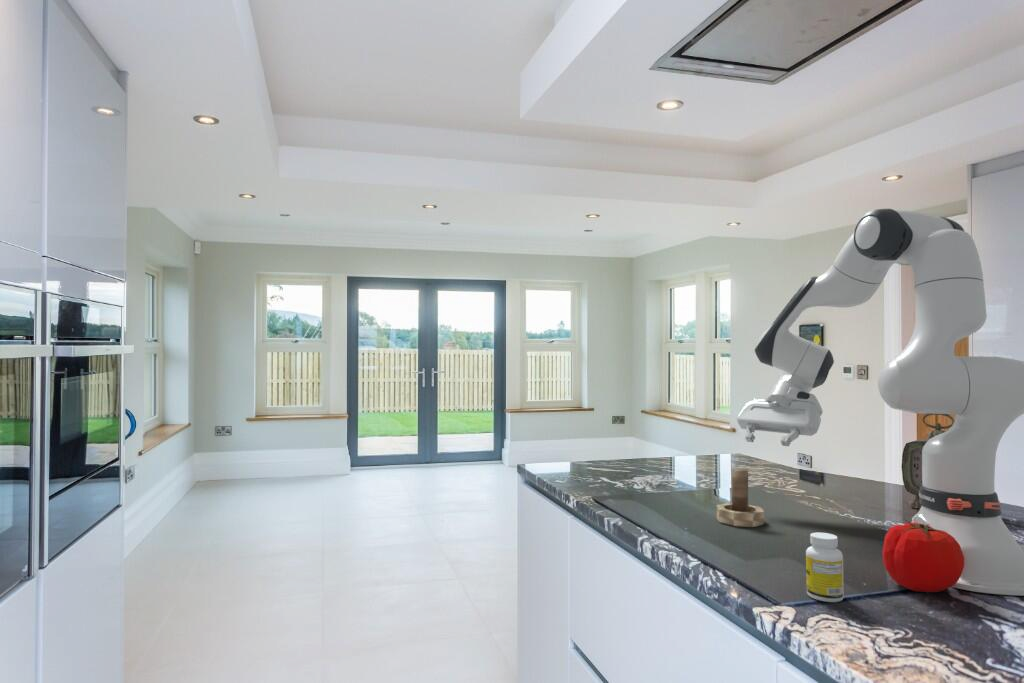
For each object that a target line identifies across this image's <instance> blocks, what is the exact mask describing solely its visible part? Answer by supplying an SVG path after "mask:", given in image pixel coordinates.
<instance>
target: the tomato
mask: <svg viewBox="0 0 1024 683" xmlns="http://www.w3.org/2000/svg"><path fill="white" fill-rule="evenodd" d="M902 519H903V520H904V521H906V522H907V523H904V524H898V525H896V524H895V525H893V526H891V527H890V528H889V530H888V531H887V533H885V536H884V542H883V546H882V554H881V555H882V564H883V566H884V567H885V570H886V572H887V573H888V574H889V575H888V576H890V578H891V579H892V580H893V581H894V582H895V583H896V584H897V585H900V586H901V587H903V588H905V589H909V590H910V591H913V592H919V593H920V592H922V593H939V592H942V591H945V590H947V589H949V588H953V587H952V586H953V585H954V584H956V583H957V581H958V580H959V578H960V576H961V574H962V571H963V568H964V556H963V553H962V550H961V547H960V545H959V543H958V542H957V541H956V540H955V538H954V537H953V536H951V535H950V534H948V533H947V532H944V531H942V530H936V529H934V528H932V527H930V526H928V525H929V524H928V525H924V524H919V523H915V522H914V523H912V522H910V521H909V520H907V519H906V518H903V517H902ZM948 532H949V531H948Z"/></svg>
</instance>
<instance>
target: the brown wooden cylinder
mask: <svg viewBox="0 0 1024 683" xmlns="http://www.w3.org/2000/svg"><path fill="white" fill-rule="evenodd" d="M731 503H732V511H738V512H748V505H749V470H748V469H744V468H732V469H731Z"/></svg>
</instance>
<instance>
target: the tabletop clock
mask: <svg viewBox="0 0 1024 683" xmlns="http://www.w3.org/2000/svg"><path fill="white" fill-rule="evenodd" d="M933 415H934V416H935V415H936V416H939V415H940V416H944V417H947V418H949V419H950V420H951V421H952V422H951V424H949V425H945V426H943V425H942V424H941V423H940V422H936V423H935V425H933V424H929V423H928V422H926V421H925V419H926V418H927V417H929V416H933ZM921 421H922V423H923V425H925V426H927V427H928V428H931V429H933V430H930V431H929V432H928V433H927V434H926V437H925V438H921V439H917V440H914V441H910V442H906V443H905V445H904V447H903V450H902V455H901V457H902V458H901V474H902V483H903V486H904V488H905V491H906V492H908V493H910V494H912V495H913V496H915V497H914V499H913V500H911V501H909V502H908V506H909V507H910V508H912V507H913V508H916V507H917V503H916V502H917V501H918V500H920V496H919V491H920V486H921V485H922V449H923V447H924V445H925V444H926V442H927V441H928V440H929V439H931V438H932V437H934V436H937V435H939V434H941V433H944V432H946V431H947V430H946V429H950V428H951V426H952V425H953V423H954V421H955V418H954V417H953V416H951V414H924V415H923V417H922V420H921Z"/></svg>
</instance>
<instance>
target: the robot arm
mask: <svg viewBox="0 0 1024 683" xmlns="http://www.w3.org/2000/svg"><path fill="white" fill-rule="evenodd" d="M894 264H898V265H900V266H907V267H911V268H912V270H913V285H914V286H913V287H914V288H913V289H914V290H913V291H914V301H915V302H914V304H915V305H914V306H915V313H914V314H915V316H914V328H913V332H912V335H911V338H910V339H909V341H908V343H907V344H906V346H905V347H904V348H903V350H901V352H900V353H899V354H898V355H896V356H895V357H894V358H892V359H890V360H889V361H888V362H887V363H886V364H885V365H884V366H883V368H882V369H881V371H880V372H879V376H878V382H877V384H878V385H877V387H878V392H879V394H880V397H881V398H882V400H883V401H884V403H886V405H888V406H889V407H890V408H891V409H893V410H898V411H903V412H908V413H913V414H921V415H926V414H948V415H954V416H955V417H954V423H953V425H952V426H951V427H950V428H948V430H945V431H946V432H944V433H941V434H939V435H937V436H934V437H932V438H931V439H930V438H928V439H929V440H928V441H927V442H926V444H925V445H924V447H923V449H922V485H921V486H920V491H919V496H920V498H919V504H920V505H921V507H920V509H919V510H918V512H917V513H916V514H914V516H913V517H912V518H911V523H914V522H915V523H919V524H924V525H928V524H929V525H928V526H930V527H932V528H934V529H936V530H942V531H944V532H947V533H948V534H950V535H951V536H953V537H954V538H955V540H956V541H957V542H958V543H959V545H960V547H961V550H962V553H963V556H964V568H963V571H962V574H961V576H960V578H959V580H958V581H957V583H956V584H954V585H953V586H952V587H951V588H955V589H958V590H959V589H960V590H965V591H970V592H976V593H982V594H993V595H1004V596H1006V595H1007V596H1024V544H1019V543H1018V542H1017V540H1016V538H1015V537H1014V534H1013V533H1012V532H1011V531H1010V529H1009V528H1008V527H1007V525H1006V524H1005V522H1004V520H1003V519H1002V517H1001V515H1002V510H1001V509H1002V507H1001V505H1002V503H1001V502H1000V500H999V497H998V493H997V492H996V491H995V471H996V459H997V451H998V447H999V444H1000V441H1001V440H1002V438H1003V436H1004V434H1005V433H1006V431H1007V429H1008V428H1009V427H1010V426H1011V425H1012V424H1013V422H1014V421H1015V420H1017V419H1018V418H1020V416H1022V415H1024V360H1018V359H1014V358H1008V357H1007V358H1006V357H1002V356H1001V357H1000V356H983V355H982V356H978V355H977V356H970V355H969V356H965V355H964V356H963V355H961V356H958V355H955V354H956V353H955V347H956V345H957V342H959V341H960V340H963V339H966V338H968V337H969V336H971V335H973V334H974V333H977V332H978V331H980V329H982V327H983V326H984V325H985V323H986V320H987V315H988V314H987V305H986V296H985V295H986V294H985V284H984V276H983V275H984V273H983V268H982V263H981V258H980V255H979V252H978V248H977V246H976V243H975V240H974V238H973V237H972V235H970V234H969V233H968V232H966V231H965V229H964V228H963V226H962V225H961V224H960V223H958V222H957V221H955V220H952V219H950V218H947V217H944V216H935V215H931V214H927V213H922V212H920V211H915V210H902V209H899V210H898V209H896V210H895V209H892V208H879V209H874V210H870V211H868V212H866V213H865V214H864V215H863V216H861V218H860V219H859V220H858V222H857V224H856V226H855V228H854V232H853V233H852V234H851V236H849V238H848V239H847V240H846V242H845V243H844V245H843V246H842V247H841V249H840V251H839V252H838V254H837V255H836V258H835V259H834V261H833V263H832V264H831V265H830V267H829V269H827V270H825V272H824V273H821V275H819V276H811V277H810V278H808V279H807V280H806V281H805V282H804V283H803V284H802V285H801V286H800V288H799V289H798V290H797V291H796V292H795V294H793V296H792V298H791V299H789V302H788V303H787V304H786V305H785V306H784V308H783V309H782V310H781V312H779V314H778V316H777V317H776V318H775V319H774V321H773V322H772V324H771V325H770V326H769V327H767V329H765V330H763V333H761V335H760V336H759V337H758V339H757V341H756V343H755V348H754V353H755V355H756V357H757V359H758V361H759V362H760V363H761V364H765V365H766V366H770V367H772V368H773V367H774V368H776V369H778V370H780V372H779V374H778V379H777V381H776V382H774V384H773V386H772V388H771V390H770V392H769V394H768V396H767V398H766V399H755V398H754V399H753V400H750V401H748V402H746V404H745V405H744V406H743V407H742V409H741V410H740V411H739V413H738V415H737V416H736V422H737V424H738V426H739V427H740V428H741V429H742V430H746V435H745V440H746V442H748V443H754V440H755V439H756V437H755V435H754V433H755V431H759V432H760V431H761V432H769V433H779V434H780V433H781V434H787V435H786V436H782V437H781V440H780V444H781V445H782V447H790V445H791V442H793V441H795V440H797V439H798V438H799V436H807V437H808V436H809V437H812V436H814V435H816V434H817V432H818V430H819V428H820V426H821V422H822V418H821V416H822V415H823V413H824V412H823V411H824V410H823V409H822V406H821V404H820V402H819V400H818V399H817V397H816V396H815V394H813V393H810V392H812V390H813V389H816V388H818V387H820V386H822V385H823V384H824V383H825V382H826V381H827V378H828V376H829V373H830V370H831V369H832V367H833V366H834V362H835V360H834V357H833V354H832V352H831V349H828V348H827V347H825V346H823V345H820V344H818V343H816V342H813V341H811V340H808V339H805V338H804V337H801V336H799V335H797V334H794V333H792V332H790V328H791V327H792V326H793V325H794V323H795V322H796V321H797V320H798V318H799V317H800V316H801V314H802V313H803V312H804V311H806V310H807V309H810V308H815V307H831V308H852V307H857V306H860V305H863V304H865V303H867V302H868V301H870V299H872V297H873V296H874V295H875V293H877V291H878V289H879V288H880V286H881V284H882V282H883V281H884V279H885V277H886V275H887V273H888V271H889V270H890V268H891V267H892V266H893V265H894ZM948 531H949V532H948Z"/></svg>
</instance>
